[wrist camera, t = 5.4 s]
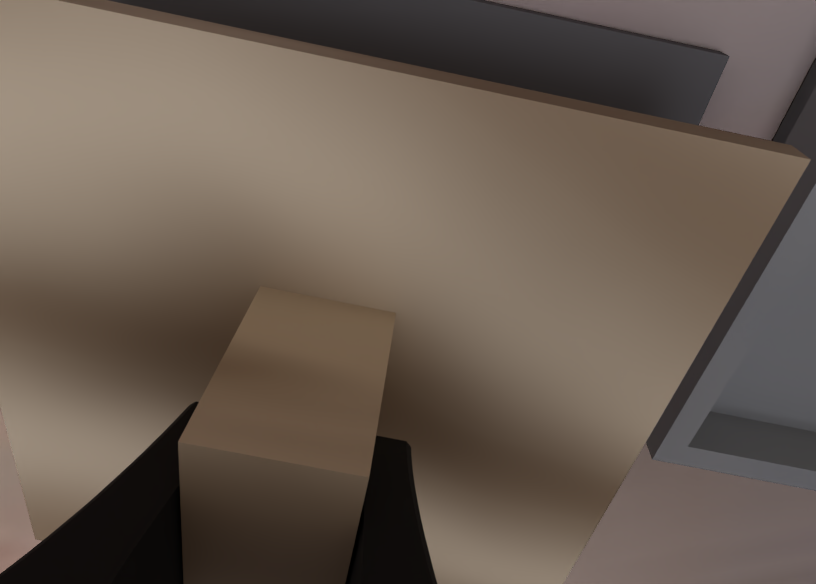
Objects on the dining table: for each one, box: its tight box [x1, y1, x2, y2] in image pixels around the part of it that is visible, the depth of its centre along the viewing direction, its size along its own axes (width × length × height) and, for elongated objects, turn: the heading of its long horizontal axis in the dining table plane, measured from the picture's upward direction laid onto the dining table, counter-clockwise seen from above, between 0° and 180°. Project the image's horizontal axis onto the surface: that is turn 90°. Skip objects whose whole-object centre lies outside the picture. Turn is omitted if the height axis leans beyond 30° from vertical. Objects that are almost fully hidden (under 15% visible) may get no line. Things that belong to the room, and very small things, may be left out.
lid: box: [0, 0, 811, 584], centre depth 11 cm, size 13×13×4 cm
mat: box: [109, 0, 729, 125], centre depth 16 cm, size 14×14×1 cm
